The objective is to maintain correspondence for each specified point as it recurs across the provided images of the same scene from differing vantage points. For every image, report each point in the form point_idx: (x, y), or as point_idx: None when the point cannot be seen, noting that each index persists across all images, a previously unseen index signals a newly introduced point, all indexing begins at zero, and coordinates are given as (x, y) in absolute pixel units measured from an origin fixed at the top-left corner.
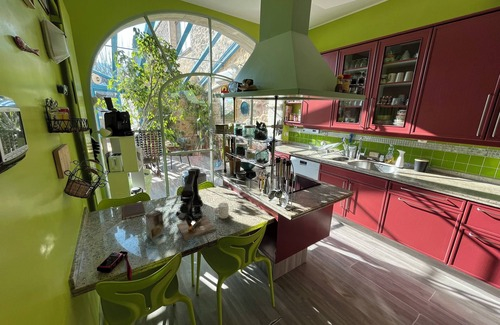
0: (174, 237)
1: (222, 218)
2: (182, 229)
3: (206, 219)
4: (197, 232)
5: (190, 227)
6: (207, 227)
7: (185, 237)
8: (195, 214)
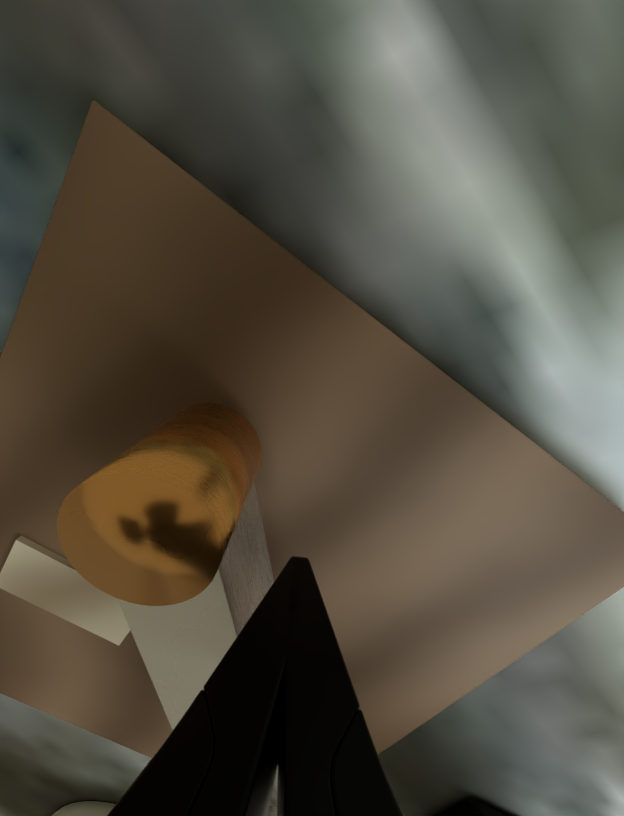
0: (471, 118)
1: (81, 803)
2: (431, 432)
3: None
4: (38, 454)
5: (83, 485)
6: (21, 631)
7: (115, 145)
8: (468, 806)
